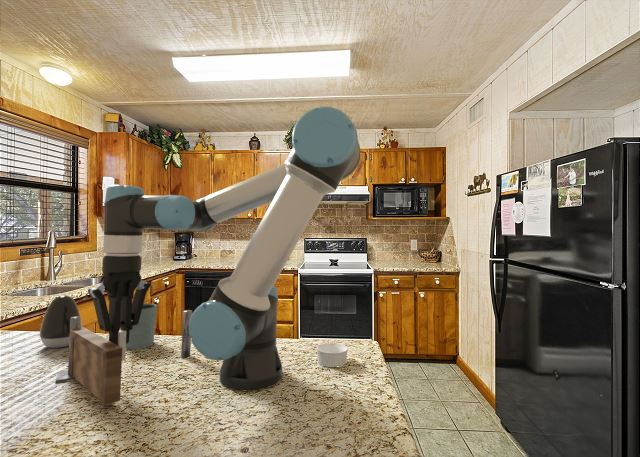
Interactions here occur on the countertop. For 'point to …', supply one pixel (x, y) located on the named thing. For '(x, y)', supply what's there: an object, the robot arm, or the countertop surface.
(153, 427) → the countertop surface
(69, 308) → the dark grey egg shape
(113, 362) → the gate
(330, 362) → the ramekin
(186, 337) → the post
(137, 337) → the teal cylindrical container
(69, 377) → the hinge post
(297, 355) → the countertop surface
